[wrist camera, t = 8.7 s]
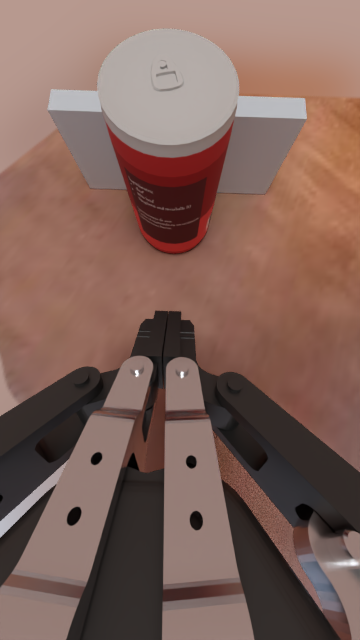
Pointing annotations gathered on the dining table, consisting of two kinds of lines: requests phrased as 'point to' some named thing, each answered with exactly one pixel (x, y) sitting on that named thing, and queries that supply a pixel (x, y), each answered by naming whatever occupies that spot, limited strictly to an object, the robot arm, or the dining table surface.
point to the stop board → (242, 154)
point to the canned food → (169, 129)
